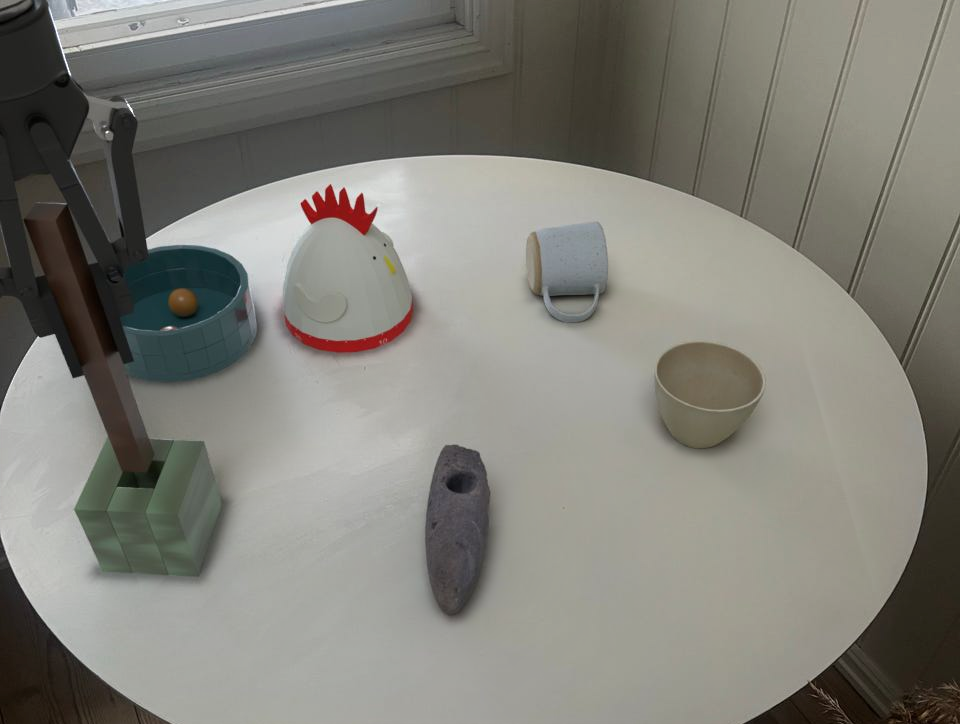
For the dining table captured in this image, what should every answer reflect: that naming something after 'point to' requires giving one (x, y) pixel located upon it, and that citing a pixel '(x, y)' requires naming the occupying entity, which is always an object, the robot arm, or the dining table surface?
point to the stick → (89, 331)
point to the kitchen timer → (344, 279)
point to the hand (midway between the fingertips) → (99, 358)
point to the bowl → (202, 336)
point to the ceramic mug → (568, 264)
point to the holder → (151, 510)
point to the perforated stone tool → (456, 525)
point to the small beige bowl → (706, 391)
